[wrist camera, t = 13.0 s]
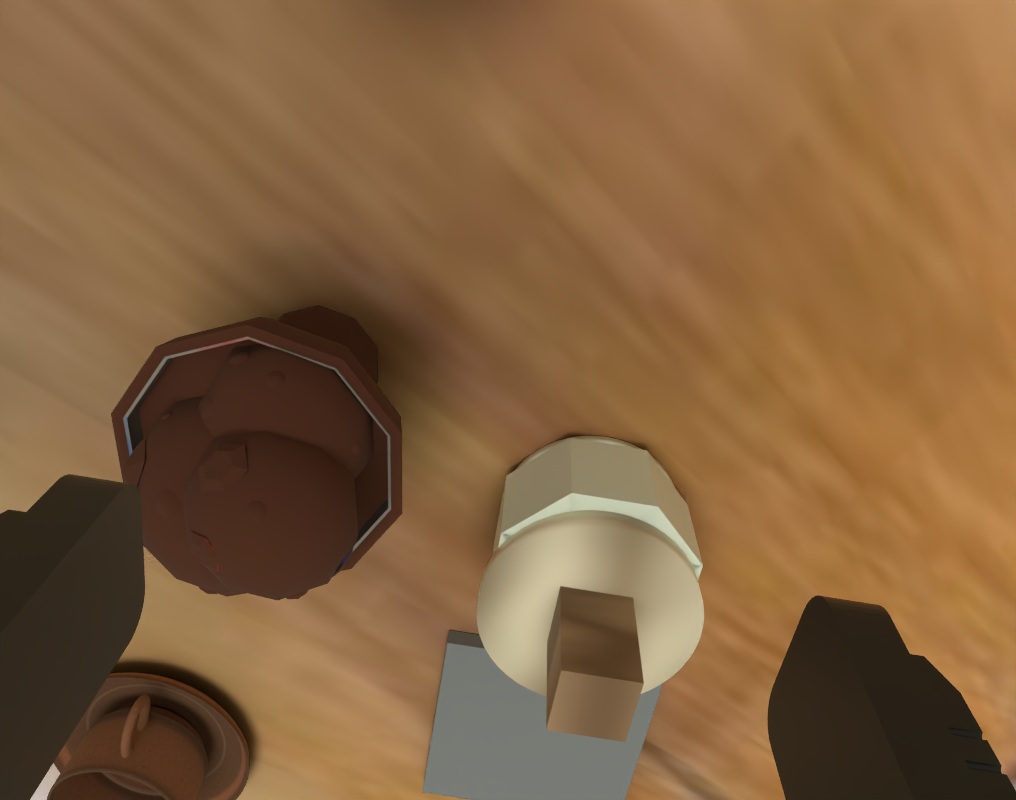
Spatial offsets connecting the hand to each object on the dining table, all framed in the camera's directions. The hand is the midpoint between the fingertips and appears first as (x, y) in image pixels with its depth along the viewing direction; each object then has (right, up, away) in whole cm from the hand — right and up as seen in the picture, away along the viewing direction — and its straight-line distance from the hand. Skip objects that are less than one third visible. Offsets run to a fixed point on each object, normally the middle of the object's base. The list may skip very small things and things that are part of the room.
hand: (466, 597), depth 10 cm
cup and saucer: (-21, -18, +42) cm, 50 cm away
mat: (+2, -17, +40) cm, 43 cm away
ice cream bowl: (-8, +4, +30) cm, 31 cm away
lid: (+4, -7, +29) cm, 30 cm away
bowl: (+5, -3, +33) cm, 33 cm away
